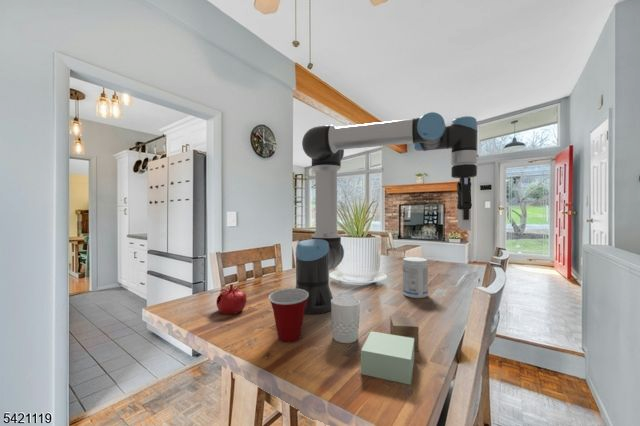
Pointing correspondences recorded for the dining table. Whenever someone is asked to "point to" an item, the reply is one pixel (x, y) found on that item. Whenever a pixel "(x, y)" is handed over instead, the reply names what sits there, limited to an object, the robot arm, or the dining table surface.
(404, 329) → the walnut cube
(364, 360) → the base block
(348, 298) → the white cup
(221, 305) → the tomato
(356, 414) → the dining table surface
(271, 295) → the plastic cup
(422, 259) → the supplement tub
